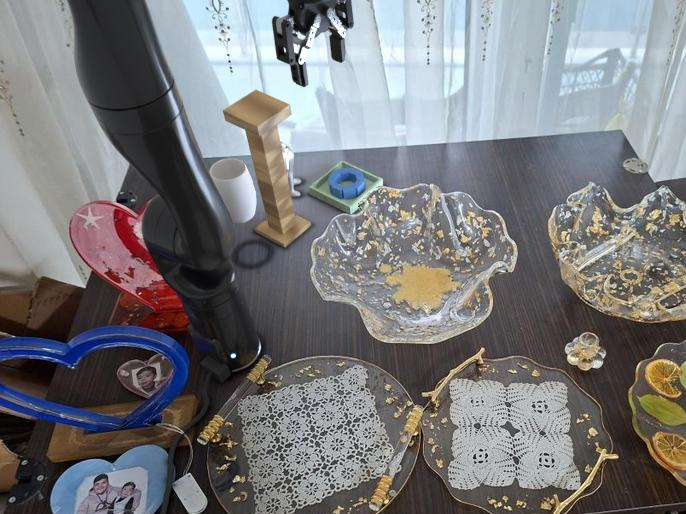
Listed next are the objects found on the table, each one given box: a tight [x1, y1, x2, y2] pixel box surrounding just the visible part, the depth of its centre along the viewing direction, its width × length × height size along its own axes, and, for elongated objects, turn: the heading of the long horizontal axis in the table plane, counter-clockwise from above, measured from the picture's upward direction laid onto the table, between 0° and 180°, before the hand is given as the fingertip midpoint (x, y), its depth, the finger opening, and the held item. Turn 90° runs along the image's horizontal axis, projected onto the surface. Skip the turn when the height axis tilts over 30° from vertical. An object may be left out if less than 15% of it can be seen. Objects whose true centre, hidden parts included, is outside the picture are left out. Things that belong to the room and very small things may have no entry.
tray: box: [308, 160, 384, 215], centre depth 133 cm, size 11×11×2 cm
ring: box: [328, 168, 365, 200], centre depth 132 cm, size 8×8×2 cm
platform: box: [222, 89, 312, 249], centre depth 115 cm, size 8×8×28 cm
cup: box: [208, 157, 257, 224], centre depth 113 cm, size 7×7×21 cm
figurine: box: [280, 141, 302, 198], centre depth 129 cm, size 7×4×12 cm, turn 4°
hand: (320, 72), depth 92 cm, fingers open, 8 cm apart
